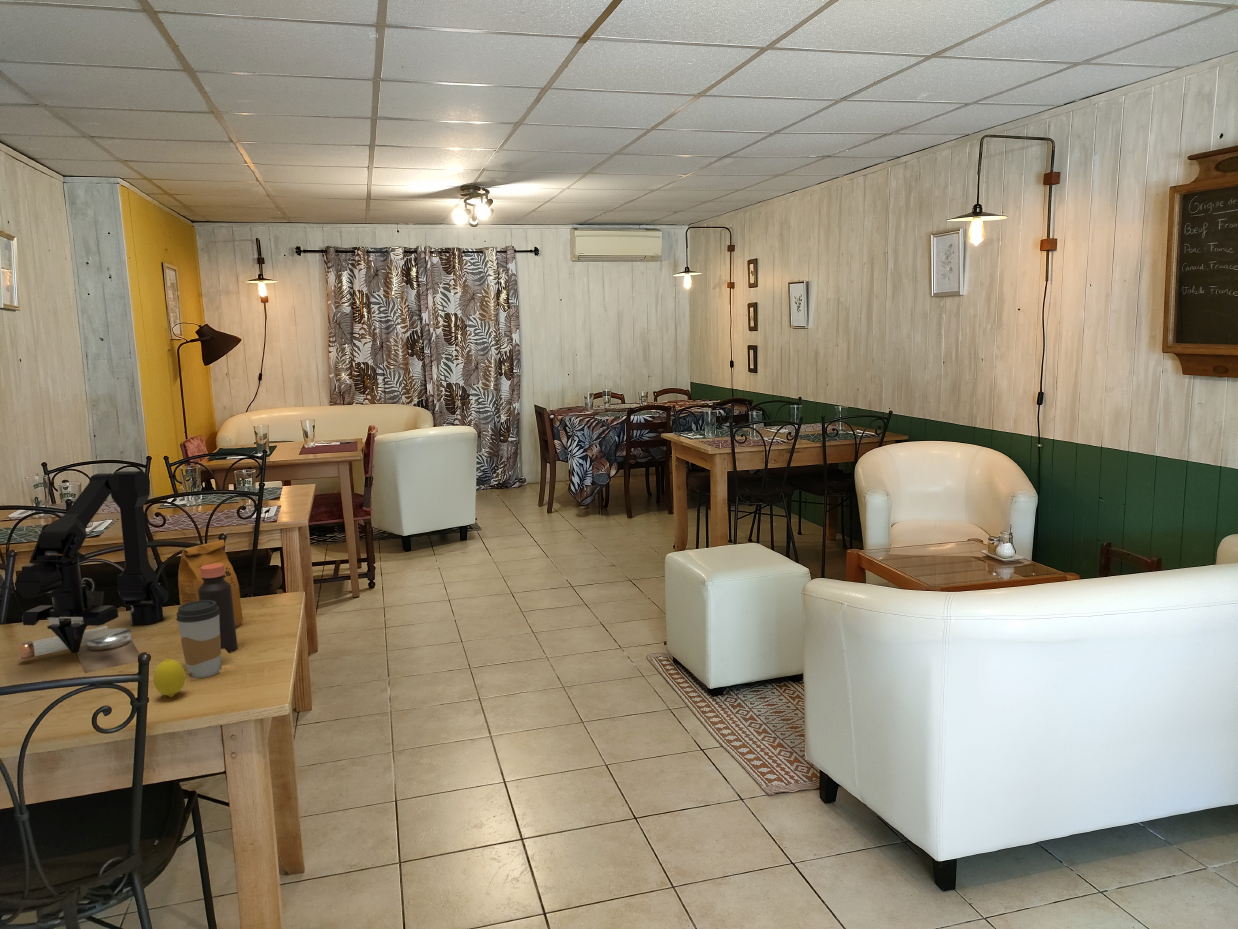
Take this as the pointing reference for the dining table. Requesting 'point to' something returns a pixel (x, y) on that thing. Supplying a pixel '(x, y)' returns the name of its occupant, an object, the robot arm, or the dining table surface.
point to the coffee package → (192, 577)
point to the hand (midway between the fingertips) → (75, 652)
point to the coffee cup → (200, 637)
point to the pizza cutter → (91, 638)
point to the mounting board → (107, 657)
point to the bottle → (220, 602)
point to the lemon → (169, 677)
